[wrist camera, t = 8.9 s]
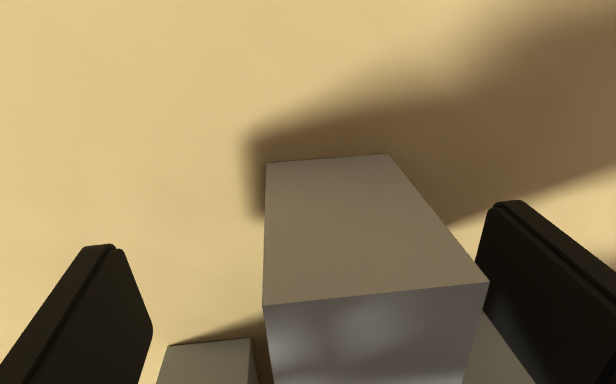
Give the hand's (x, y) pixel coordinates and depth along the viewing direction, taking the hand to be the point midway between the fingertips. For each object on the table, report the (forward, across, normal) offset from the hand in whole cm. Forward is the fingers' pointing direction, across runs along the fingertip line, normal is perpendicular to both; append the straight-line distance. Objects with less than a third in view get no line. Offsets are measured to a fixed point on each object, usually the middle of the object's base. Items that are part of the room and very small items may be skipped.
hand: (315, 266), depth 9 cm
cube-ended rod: (+3, -1, +9) cm, 10 cm away
